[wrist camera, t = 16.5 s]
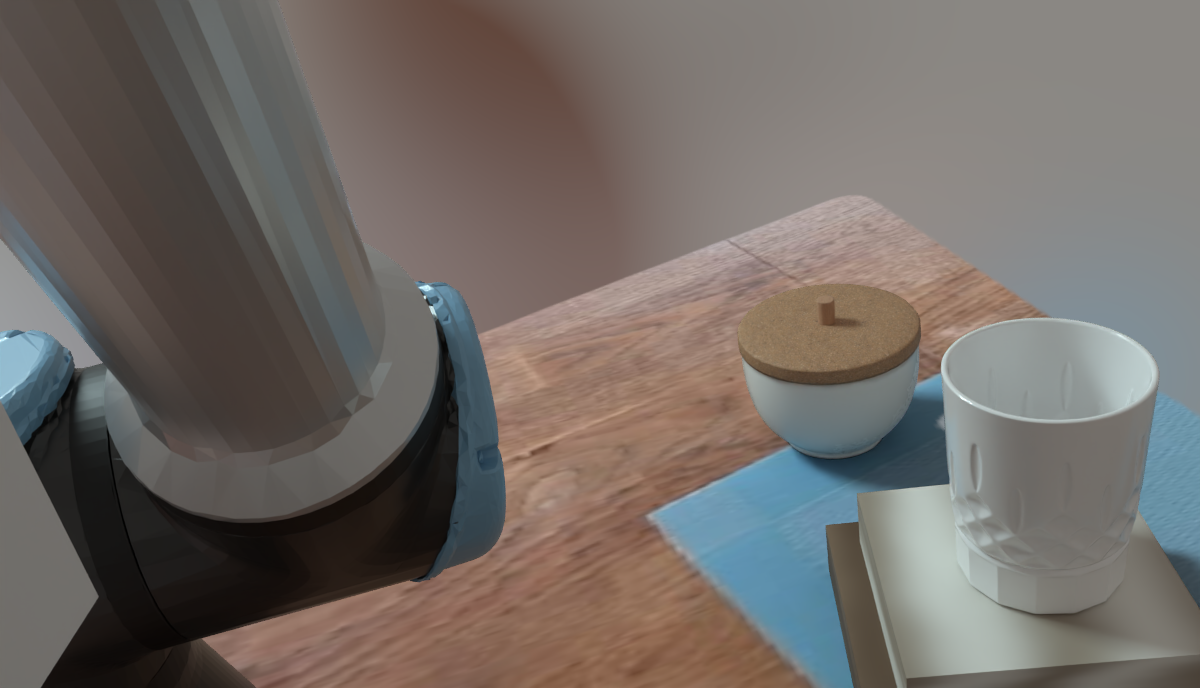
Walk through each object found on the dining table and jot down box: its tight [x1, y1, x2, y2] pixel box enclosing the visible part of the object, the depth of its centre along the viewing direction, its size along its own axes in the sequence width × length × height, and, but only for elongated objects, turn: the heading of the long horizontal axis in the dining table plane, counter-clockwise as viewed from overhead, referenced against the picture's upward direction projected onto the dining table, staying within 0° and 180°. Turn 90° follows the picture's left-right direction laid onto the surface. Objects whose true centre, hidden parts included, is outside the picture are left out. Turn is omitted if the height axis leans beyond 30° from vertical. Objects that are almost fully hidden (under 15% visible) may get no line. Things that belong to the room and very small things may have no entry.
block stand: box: [826, 484, 1200, 688], centre depth 49 cm, size 15×15×6 cm
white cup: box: [941, 318, 1159, 614], centre depth 45 cm, size 8×8×10 cm
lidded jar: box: [737, 284, 921, 459], centre depth 67 cm, size 11×11×9 cm
